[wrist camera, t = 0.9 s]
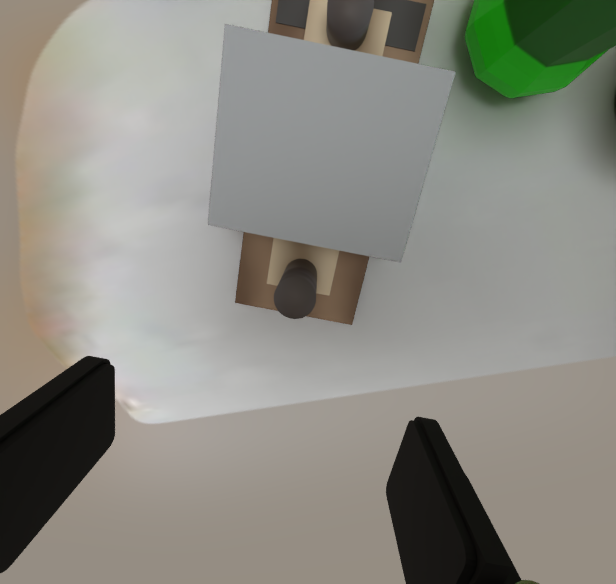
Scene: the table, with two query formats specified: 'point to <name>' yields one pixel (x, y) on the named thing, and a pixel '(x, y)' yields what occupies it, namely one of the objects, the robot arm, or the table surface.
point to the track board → (350, 267)
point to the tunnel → (322, 142)
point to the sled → (302, 257)
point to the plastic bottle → (537, 42)
